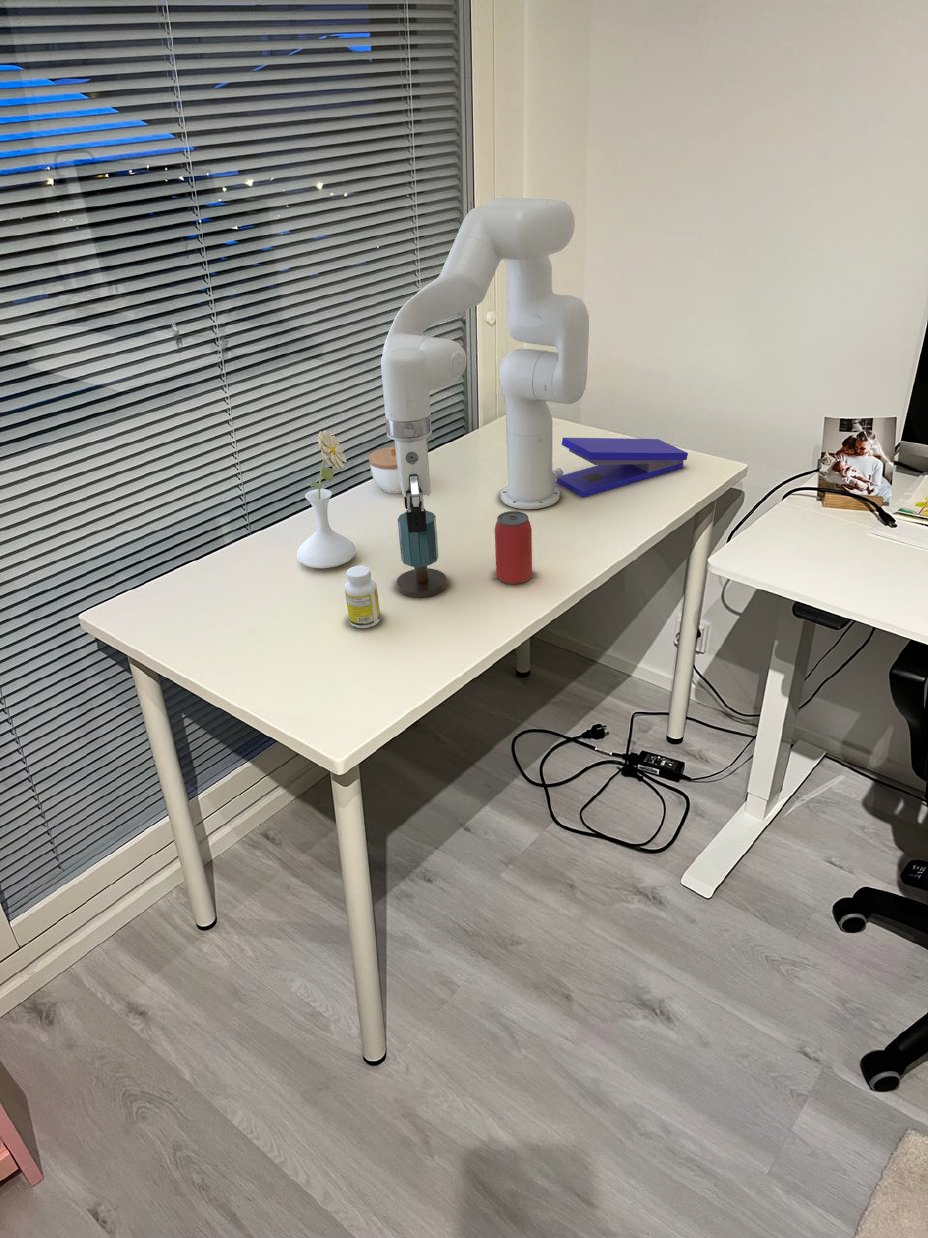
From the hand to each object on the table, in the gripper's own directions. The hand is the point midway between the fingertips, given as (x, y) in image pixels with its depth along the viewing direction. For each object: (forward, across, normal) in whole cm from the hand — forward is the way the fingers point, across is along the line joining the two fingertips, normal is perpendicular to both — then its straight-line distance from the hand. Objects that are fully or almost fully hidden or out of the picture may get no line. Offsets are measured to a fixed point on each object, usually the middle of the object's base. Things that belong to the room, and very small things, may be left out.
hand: (415, 519), depth 167 cm
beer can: (+14, 0, -17) cm, 22 cm away
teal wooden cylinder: (+8, 0, 0) cm, 8 cm away
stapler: (+13, +42, -48) cm, 65 cm away
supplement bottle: (+14, -10, +10) cm, 20 cm away
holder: (+13, 0, 0) cm, 13 cm away
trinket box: (+13, +46, +2) cm, 48 cm away
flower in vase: (+14, +14, +17) cm, 26 cm away
